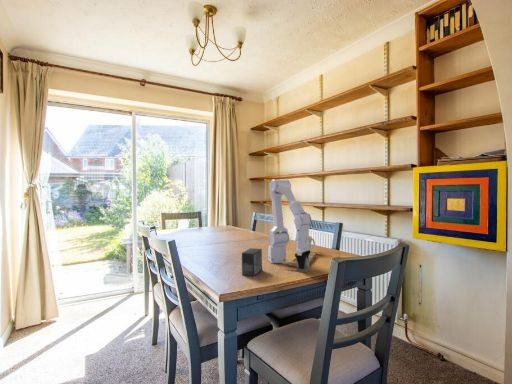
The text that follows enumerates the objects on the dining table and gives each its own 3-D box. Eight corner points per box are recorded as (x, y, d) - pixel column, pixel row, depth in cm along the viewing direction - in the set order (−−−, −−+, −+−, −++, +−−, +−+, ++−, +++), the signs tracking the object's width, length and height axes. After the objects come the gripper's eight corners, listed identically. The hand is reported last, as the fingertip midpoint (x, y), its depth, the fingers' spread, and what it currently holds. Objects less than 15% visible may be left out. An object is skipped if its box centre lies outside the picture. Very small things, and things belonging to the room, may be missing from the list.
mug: (295, 252, 174) (294, 236, 174) (309, 250, 182) (309, 234, 182) (305, 255, 168) (305, 238, 168) (319, 252, 175) (319, 236, 175)
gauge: (307, 272, 135) (307, 259, 135) (281, 269, 139) (281, 257, 139) (309, 270, 138) (308, 257, 138) (284, 267, 143) (284, 255, 143)
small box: (250, 269, 141) (249, 247, 141) (262, 270, 139) (262, 248, 138) (241, 275, 131) (241, 252, 131) (254, 276, 129) (254, 253, 129)
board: (306, 267, 142) (306, 263, 142) (290, 266, 145) (290, 262, 145) (315, 256, 164) (315, 253, 164) (301, 255, 167) (301, 252, 167)
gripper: (307, 242, 129) (308, 272, 129) (314, 236, 142) (314, 264, 143) (292, 241, 132) (292, 270, 132) (300, 236, 145) (300, 262, 145)
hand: (302, 267), depth 137 cm, fingers open, 5 cm apart
